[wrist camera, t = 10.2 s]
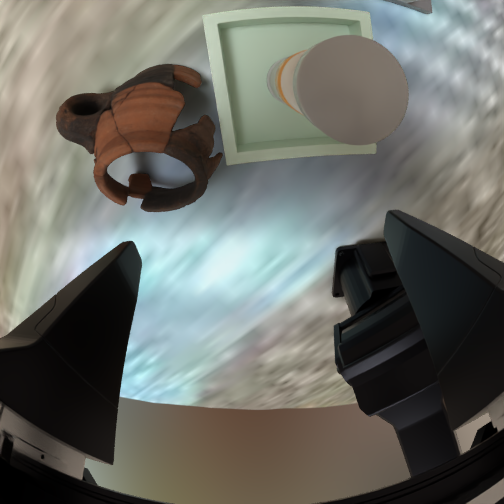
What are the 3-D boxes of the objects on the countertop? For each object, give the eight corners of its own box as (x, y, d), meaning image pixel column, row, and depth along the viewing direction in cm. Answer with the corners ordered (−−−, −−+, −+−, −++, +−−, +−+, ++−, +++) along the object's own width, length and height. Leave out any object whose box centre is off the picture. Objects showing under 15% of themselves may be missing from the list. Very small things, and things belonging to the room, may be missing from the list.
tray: (361, 143, 20) (376, 153, 17) (228, 154, 20) (226, 165, 18) (354, 18, 13) (369, 12, 11) (207, 23, 14) (202, 15, 12)
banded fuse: (325, 92, 17) (421, 123, 7) (282, 112, 18) (331, 163, 8) (302, 50, 15) (381, 23, 5) (256, 70, 16) (276, 60, 6)
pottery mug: (243, 74, 17) (248, 152, 14) (198, 152, 25) (193, 229, 21) (86, 39, 12) (27, 110, 8) (77, 129, 19) (46, 206, 16)
